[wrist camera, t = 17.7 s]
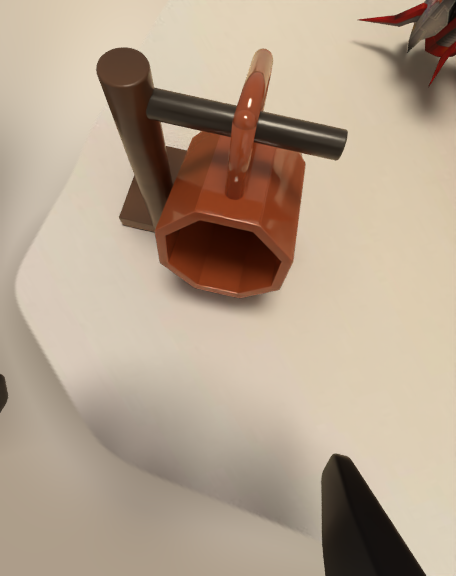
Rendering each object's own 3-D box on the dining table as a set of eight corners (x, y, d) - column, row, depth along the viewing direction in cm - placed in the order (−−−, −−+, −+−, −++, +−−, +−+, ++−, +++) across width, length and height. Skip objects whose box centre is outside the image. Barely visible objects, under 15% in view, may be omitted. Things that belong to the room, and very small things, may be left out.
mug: (286, 212, 24) (272, 306, 20) (194, 191, 24) (162, 281, 21) (348, 44, 15) (343, 161, 11) (194, 12, 15) (134, 116, 11)
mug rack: (280, 267, 25) (354, 138, 12) (120, 230, 25) (22, 66, 12) (296, 184, 27) (373, -2, 14) (149, 151, 27) (91, -61, 14)
